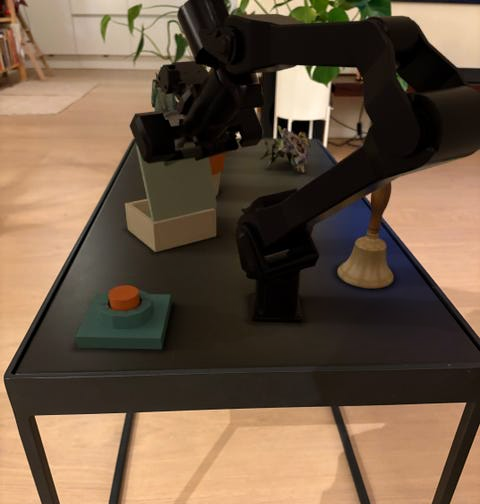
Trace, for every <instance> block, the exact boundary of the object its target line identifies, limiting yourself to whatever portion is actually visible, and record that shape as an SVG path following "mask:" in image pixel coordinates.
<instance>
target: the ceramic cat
mask: <svg viewBox="0 0 480 504" xmlns="http://www.w3.org/2000/svg"><path fill="white" fill-rule="evenodd" d="M161 68H162V66H160V68H159V70H160V69H161ZM154 74H155V79H152V82H151V96H150V97H151V103H150V104H151V107H152V108H154V111H160V112H162V113H163V114H165V113H167V112H170V111H174V110H177V108H176V106H177V104H178V102H179V101H178V99H177V98H176V97H175V95H174V94H165V93H164V92H163V91H162V89H161V88H160V86H159V85H158V81H157V80H158V73H157V72H154Z"/></svg>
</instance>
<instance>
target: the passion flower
mask: <svg viewBox="0 0 480 504" xmlns="http://www.w3.org/2000/svg"><path fill="white" fill-rule="evenodd" d="M277 130H278V132H279V135H280V137H281V140H279V139H278V138H274V140H273V141H274V142H273V144H272V145H271V148H269V146H268V140H267V139H263V144H264V146H265V148H266V149H267V150H266V151H265V152H264V153H262V154H263V155H261V157H260V160H263V159H265V158H266V157H268V156H269V161H268V165H267V169H270V166H271V165H272V164H273V163H275V162H276V160H277V158H279V157H280V158H282V159H284V158H285V156H286V157H287V163H288V164H291V166H292V167H293V169H294V171H295V172H297V173H301V174H304V173H305V166H304V165H306V164H307V163H308V162H307V161H308V158H309V157H308V155H309V150H308V149H307V148H306V147H309V148H311V147H312V144H311V141H310V140H309V139H308V137H307V134H306V132H305V131H300V132H299V133H298V135H297V134H296V132H294V131H291V130H289V129H288V128H285V127H284V128H283V129H282V127H281V125H278V126H277Z"/></svg>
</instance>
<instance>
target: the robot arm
mask: <svg viewBox="0 0 480 504" xmlns="http://www.w3.org/2000/svg"><path fill="white" fill-rule="evenodd" d="M176 18H177V21H178V23H179V25H180V28H181V30H182V33H183V35H184V38H185V41H186V43H187V46H188V47H189V50H190V52H191V55H192V57H193V60H187V61H174V62H171V63H169V64H162V66H161V67H162V68H161V69H160V68H159V71H158V73H157V74H158V80H157V81H158V85H159V86H160V88H161V89H162V91H163V92H164V93H165V94H174V95H175V98H176V100H177V102H178V104H177V106H176V108H177V110H178V113H179V115H183V117H184V118H183V119H179V120H178V121H177V122H178V126H171V124H170V122H169V120H168V119H167V120H165V117H164V115H163V113H162V112H160V111H155V110H154V111H145V112H138V113H137V112H136V113H134V115H133V117H132V119H131V121H130V124H129V129H130V131H131V133H132V136H133V139H134V141H135V145H137V146H138V149H139V151H140V154H141V156H142V159H143V161H145V162H147V163H148V164H151V163H156V162H162V161H163V163H164V165H165V166H169V165H172V164H174V163H176V162H178V161H181V160H183V159H184V156H183V154H182V151H181V149H183V147H184V144H189V143H194V144H195V146H196V147H198V146H201V147H202V150H203V155H202V156H201V157H195V160H196V161H199V160H202V159H206V158H209V157H212V156H216V155H219V154H223V153H225V154H226V153H230V152H234V151H237V150H239V148H240V147H241V148H249V147H254V146H255V147H256V146H257V145H258V144H259V143H260V142H261V141H262V139H263V138H264V128H263V125H262V123H261V121H260V117H259V116H258V113H257V111H256V109H260V108H264V107H265V95H264V93H263V85H262V84H261V83H260V80H259V77H258V74H262V73H273V72H274V73H275V72H280V71H285V70H288V69H292V68H295V67H297V66H301V67H304V66H305V67H326V68H327V67H328V68H349V69H351V68H352V69H357V71H358V73H359V76H360V77H361V79H362V92H363V107H364V110H365V113H366V116H368V119H369V120H370V122H371V124H370V125H369V127H368V130H367V133H366V135H365V139H364V140H363V143H362V144H361V145H360V146H359V147H358V148H357V149H355V150H354V151H352V152H351V153H349V154H347V156H345V157H344V158H342V159H341V160H340V161H338V162H337V163H335V164H334V165H332V166H331V167H329V168H328V169H326V170H325V171H323V172H322V173H321V174H319V175H318V176H316V177H315V178H313V180H311V181H309V182H308V183H307V184H305V185H304V186H302V187H301V188H300V189H298V188H297V187H295V188H292V189H286V190H282V191H279V192H274V193H270V194H266V195H261V196H258V197H257V198H255V199H254V200H253V201H252V202H251V204H250V205H249V206H246V207H242V208H241V209H240V211H241V212H242V214H241V215H240V216H239V218H238V219H237V221H236V225H237V226H236V228H235V235H234V236H235V241H236V245H237V251H238V255H239V256H238V258H239V263H240V268H241V270H242V271H243V272H245V277H246V278H247V279H248V280H254V281H255V283H254V285H255V286H254V292H252V293H251V294H250V297H251V298H250V301H251V302H250V303H251V304H250V306H251V320H252V321H253V322H288V323H289V322H293V323H300V322H302V321H303V314H302V309H301V303H300V297H299V291H300V284H301V283H300V282H301V273H302V272H301V271H303V270H306V269H308V268H313V267H316V265H317V263H318V261H319V258H320V253H319V251H318V250H319V249H318V248H317V246H316V244H315V242H314V240H313V239H314V238H313V237H312V235H313V232H314V228H315V226H316V225H317V224H319V223H321V222H323V221H325V220H326V219H328V218H330V217H332V216H333V215H335V214H336V213H339V212H340V211H342V210H344V209H346V208H348V207H349V206H351V205H353V204H354V203H357V202H358V201H360V200H361V199H363V198H365V197H366V196H368V195H371V193H372V192H374V191H376V190H377V189H379V188H381V187H383V186H384V185H386V184H388V183H390V182H391V183H392V182H393V181H395V180H396V179H398V178H401V177H404V176H408V175H410V174H411V175H412V174H414V173H418V172H421V171H425V170H428V169H431V168H435V167H438V166H439V167H440V166H442V165H445V164H448V163H451V162H455V161H458V160H461V159H464V158H467V157H470V156H473V155H474V154H475V153H476V152H478V151H479V150H480V92H478V91H477V90H476V89H475V88H473V87H471V86H470V84H469V82H468V81H467V79H466V78H465V76H464V74H463V73H462V71H461V70H460V68H458V66H457V65H456V64H454V63H453V62H452V61H451V60H449V58H447V57H446V56H445V55H444V54H443V53H442V52H441V51H440V50H439V49H437V48H436V47H435V46H434V45H433V44H432V43H431V42H430V41H429V40H428V38H427V36H426V35H425V33H424V32H423V30H422V28H421V27H420V25H419V24H418V23H417V22H416V20H414V19H412V18H411V17H410V16H408V15H407V16H406V15H374V16H368V17H367V18H365V19H362V20H344V21H343V20H342V21H326V22H325V21H324V22H323V21H322V22H309V23H308V22H307V23H306V22H302V21H299V20H298V19H296V17H293V16H289V15H284V14H280V13H255V14H254V13H251V14H247V13H246V14H245V13H244V14H231V15H230V13H229V10H228V8H227V6H226V3H225V1H224V0H186V1H185V2H184V3H183V4H182V5H180V6H179V8H178V11H177V14H176ZM205 66H206V67H208V68H210V69H209V71H208V70H207V68H206V67H205ZM398 77H399V78H400V79H401V80H402V81H404V82H405V83H406V84H407V85H408V86H409V87H410V88H412V89H413V92H408V93H407V92H406V91H405V89H404V87H403V85H402V84H401V82H400V81H399V79H398ZM238 134H239V136H240V138H241V139H240V140H239V141H237V138H238ZM239 146H240V147H239Z"/></svg>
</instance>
